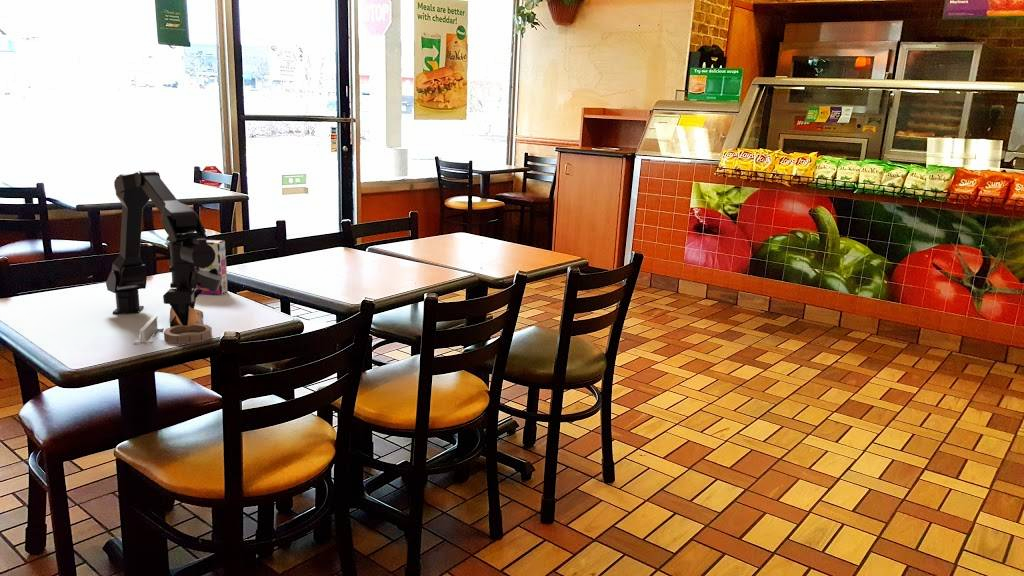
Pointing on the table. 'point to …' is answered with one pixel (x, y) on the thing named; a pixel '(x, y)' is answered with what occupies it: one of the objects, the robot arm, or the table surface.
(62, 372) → the table surface
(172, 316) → the sunglasses case
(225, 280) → the candy bar box
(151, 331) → the divider
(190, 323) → the ball
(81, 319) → the table surface
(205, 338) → the saucer
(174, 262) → the robot arm
